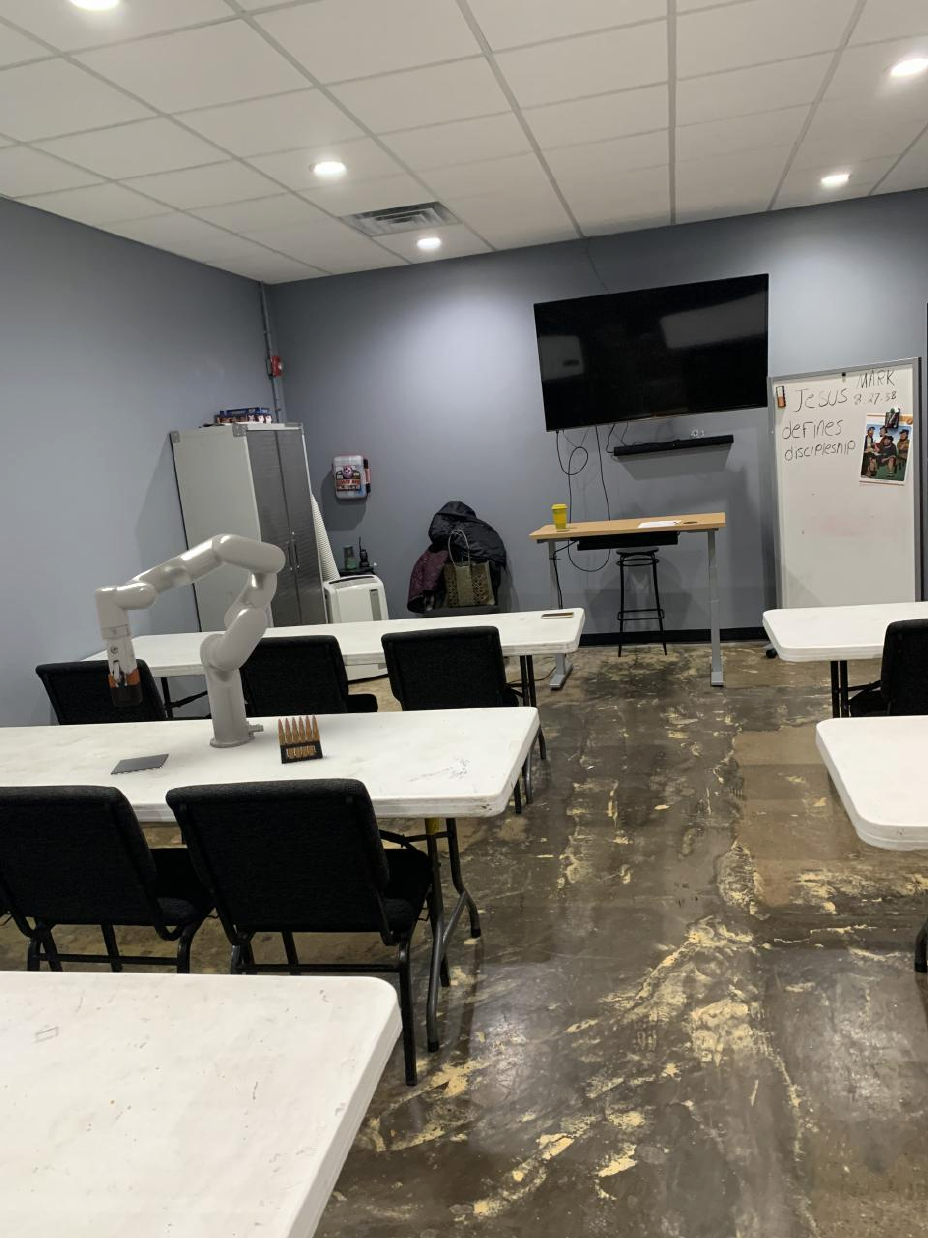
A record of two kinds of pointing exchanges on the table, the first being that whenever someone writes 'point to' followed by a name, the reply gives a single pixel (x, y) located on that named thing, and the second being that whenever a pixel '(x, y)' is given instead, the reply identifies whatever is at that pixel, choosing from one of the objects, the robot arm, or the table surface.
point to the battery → (134, 688)
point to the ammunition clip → (299, 741)
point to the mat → (140, 763)
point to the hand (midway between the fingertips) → (127, 697)
